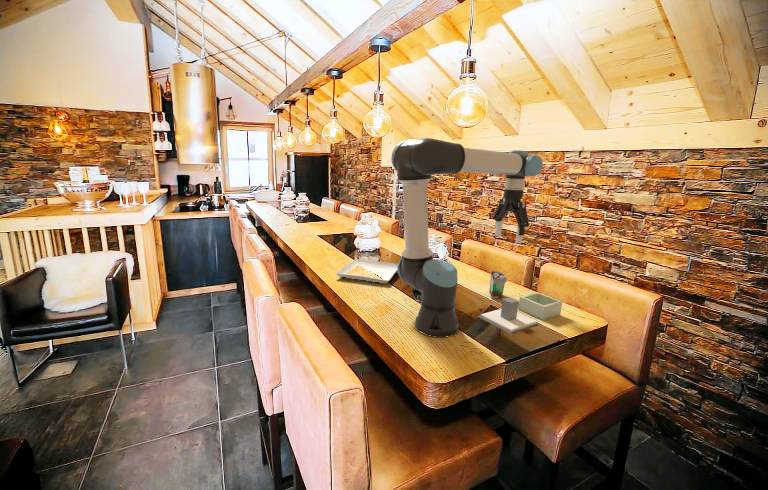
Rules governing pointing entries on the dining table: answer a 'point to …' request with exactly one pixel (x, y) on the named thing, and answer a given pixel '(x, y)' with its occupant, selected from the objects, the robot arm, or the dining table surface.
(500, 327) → the mat
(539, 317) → the open square box
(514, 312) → the lid
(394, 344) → the dining table surface
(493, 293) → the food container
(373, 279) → the square plate
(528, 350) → the dining table surface
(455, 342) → the dining table surface
